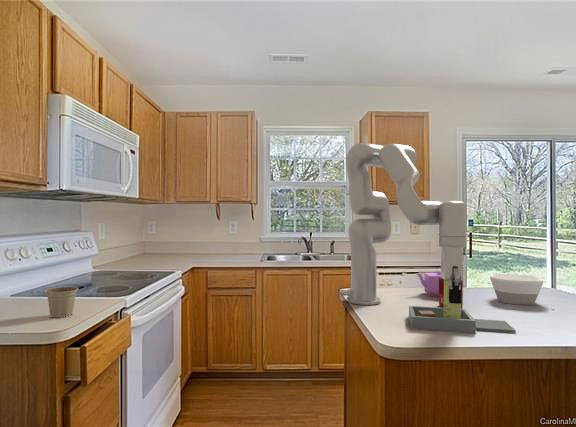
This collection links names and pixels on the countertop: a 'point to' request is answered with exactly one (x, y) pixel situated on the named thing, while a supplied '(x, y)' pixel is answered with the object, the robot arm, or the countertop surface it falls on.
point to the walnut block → (426, 313)
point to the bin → (441, 320)
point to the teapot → (430, 283)
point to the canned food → (441, 292)
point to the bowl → (516, 288)
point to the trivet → (493, 326)
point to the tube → (450, 304)
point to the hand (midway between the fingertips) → (452, 299)
